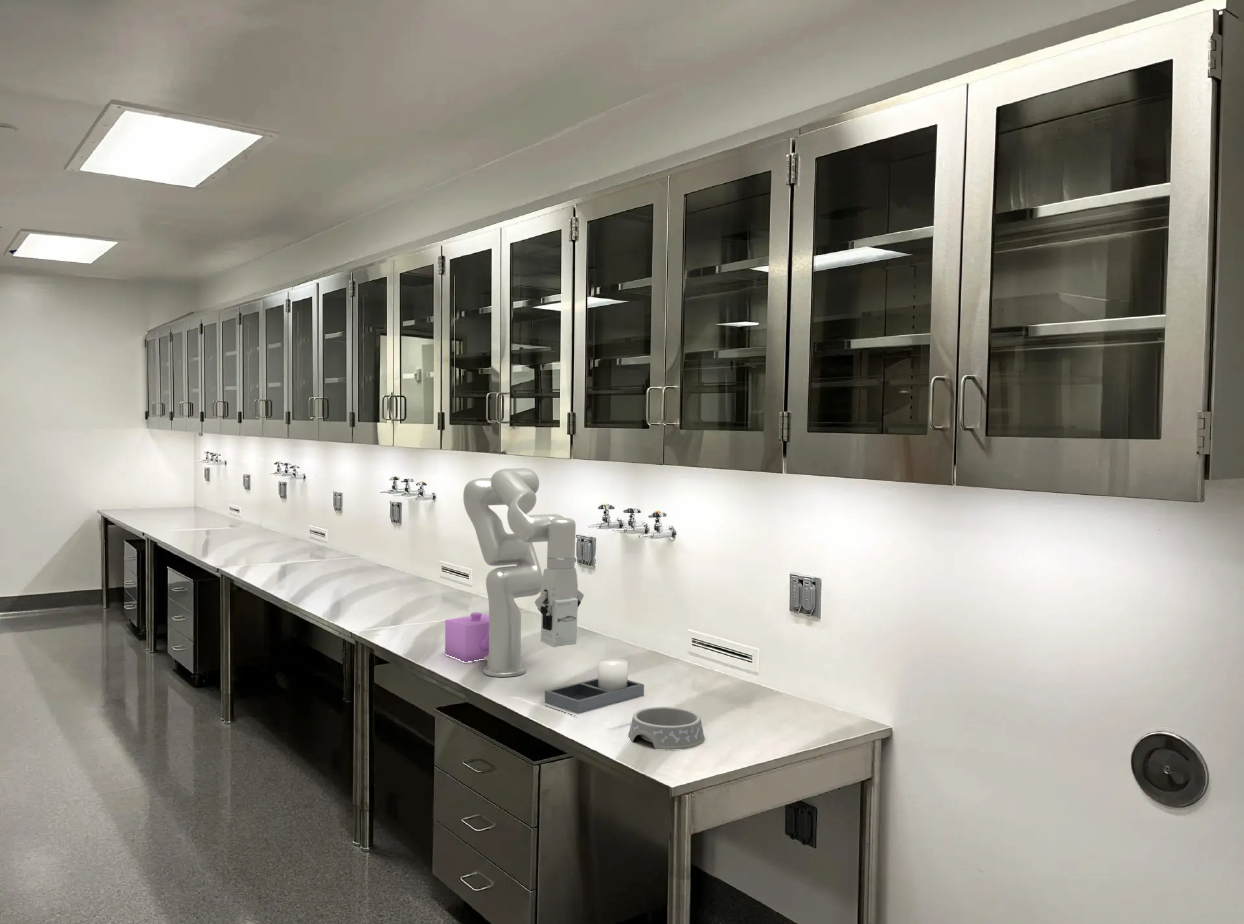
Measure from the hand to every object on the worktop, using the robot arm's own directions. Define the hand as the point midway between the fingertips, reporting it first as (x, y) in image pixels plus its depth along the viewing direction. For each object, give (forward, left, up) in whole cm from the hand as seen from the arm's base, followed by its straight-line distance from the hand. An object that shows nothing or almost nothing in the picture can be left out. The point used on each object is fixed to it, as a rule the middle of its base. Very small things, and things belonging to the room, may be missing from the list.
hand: (558, 626), depth 248 cm
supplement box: (0, 0, -5) cm, 5 cm away
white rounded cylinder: (+12, +9, -18) cm, 23 cm away
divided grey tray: (+12, +3, -19) cm, 22 cm away
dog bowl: (+43, -3, -19) cm, 48 cm away
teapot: (-50, +9, -19) cm, 55 cm away
